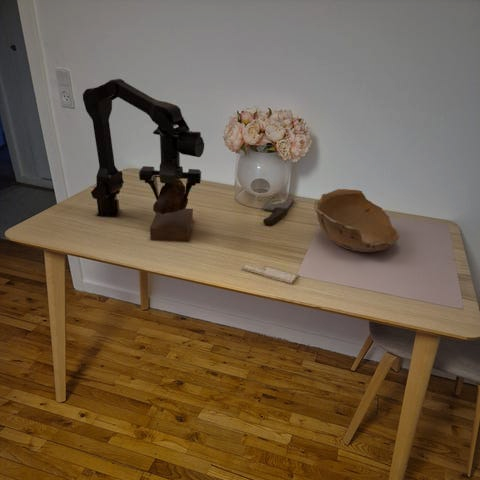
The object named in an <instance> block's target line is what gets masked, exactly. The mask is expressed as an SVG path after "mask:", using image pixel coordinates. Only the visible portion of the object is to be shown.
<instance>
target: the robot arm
mask: <svg viewBox="0 0 480 480" xmlns="http://www.w3.org/2000/svg"><path fill="white" fill-rule="evenodd" d="M117 98H118V99H121V100H122V101H124V102H125V103H127V104H129V105H131V106H133V107H135V109H138V110H140V111H141V112H143V113H145V114H146V115H148V117H149V118H150V120H151V121H152V122H153V123H154V124H155V125H157V127H156V129H154V130H153V131H152V134H153V135H157V136H159V147H160V148H159V149H160V150H159V151H160V164H159V170H155V169H156V168H155V166H146V165H143V166H142V167H141V168H140V170H139V171H138V180H140V181H144V183H145V184H147V185H149V186H150V188H151V190H152V192H153V194H154V197H155V199H156V200H155V201H157V200H158V196H159V193H160V192H159V186H158V185H159V184H158V178H159V182H160V183H161V184H165V183H171V184H175V183H176V179H180V180H186V183H185V203H186V201H187V198H188V197H189V194H190V191H191V189H192V187H195V186H196V185H197V184H198V185H199V184H201V181H202V170H201V169H198V168H188V171H184V167H183V166H181V155H183V156H184V155H185V156H190V157H193V158H194V157H195V158H201V157H202V155H203V154H204V150H205V142H204V139H203V137H202V132H201V131H192V130H190V129H191V128H190V127H189V125H188V123H187V121H186V119H185V118H184V116H183V113H182V111H181V110H182V109H181V108H180V107H179V106H178V105H176V104H174V103H171V102H167V101H162V100H158V99H156V98H153V97H152V96H150V95H148V94H147V93H144V92H143V91H142V90H139V89H138V88H136V87H134V86H132V85H131V84H130V83H127V82H125V80H123V79H122V78H116V79H110V80H108V81H107V82H105V83H103V84H101V85H99V86H96V87H90V88H86V89H84V92H83V93H82V101H83V104H84V108H85V111H86V113H87V114H88V116H89V117H90V119H91V120H92V126H93V133H94V139H95V147H96V153H97V160H98V169H97V174H96V178H95V179H96V180H95V181H96V185H95V186H94V188H93V189H92V190H91V192H90V194H91V196H92V199H94V200H96V206H97V213H96V216H97V217H112V218H113V217H115V218H116V217H117V216H118V214H119V213H120V211H121V209H120V202H119V201H120V200H119V199H118V198H117V195H119V194H120V192H121V189H122V188H123V184H125V182H124V178H123V171H122V170H119V169H118V168H117V167H116V164H115V158H114V157H115V156H114V150H113V141H112V135H111V134H112V133H111V127H110V117H111V114H112V111H113V101H114V100H116V99H117ZM180 154H181V155H180Z"/></svg>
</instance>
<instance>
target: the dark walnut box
mask: <svg viewBox="0 0 480 480" xmlns="http://www.w3.org/2000/svg"><path fill="white" fill-rule="evenodd" d="M193 222H194V208H185V209H182V210H179V211H177V212H173V213H165V214H162V215H161V214H157V213H155V214H154V217H153V219H152V222H151V225H150V227H149V235H150V240H151V241H162V242H163V241H164V242H185V243H189V241H190V236H191V231H192V227H193V226H192V225H193Z"/></svg>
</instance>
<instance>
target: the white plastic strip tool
mask: <svg viewBox="0 0 480 480" xmlns="http://www.w3.org/2000/svg"><path fill="white" fill-rule="evenodd" d="M243 270H244V271H247V272H251V273H254V274H258V275H261V276H264V277H267V278H270V279H274V280H278V281H280V282H284V283H288V284H293V283H294V282H295V281H296V279H297V277H299V275H297V274H293V273H289V272H286V271H283V270H279V269H276V268H272V267H269V266H265V267H263V269H261V268H257V267H254V266H251V265H248V264H245V265H244V266H243Z"/></svg>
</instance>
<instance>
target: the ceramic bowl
mask: <svg viewBox="0 0 480 480" xmlns="http://www.w3.org/2000/svg"><path fill="white" fill-rule="evenodd" d="M313 209H314V212H316V216H317V220H318V223H319V226H320V228H321V230H322V231H323V233H324V234H325V235H326V236H327V237H328V238H329V239H330V240H331V241H332V242H333V243H335V244H336V245H338V247H339V246H340V247H342V248H344V249H347V250H349V251H354V252H360V253H373V252H380V251H384V250H386V249H388V248H390V247H392V246H394V245H395V244H396V243H397V242H398V240H399V238H400V234H399V233H398V231H397V229H396V228H395V227H394V226H392V222H391V219H390V218H391V217H390V216H389V215H388V214H387V213H386V212H385V211H384V210H383V208H382V207H381V206H378V205H377V204H375V203H373V202H372V201H370V200H369V199H368V198H366V195H365V194H364V193H363V191H362V190H359V189H348V188H337V189H334V190H332V191H329V192H327V193H322V194H321V195H320V198H319V199H318V200H315V201H314V204H313Z"/></svg>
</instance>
